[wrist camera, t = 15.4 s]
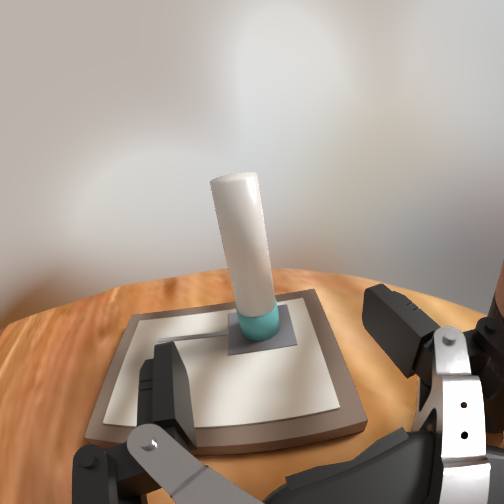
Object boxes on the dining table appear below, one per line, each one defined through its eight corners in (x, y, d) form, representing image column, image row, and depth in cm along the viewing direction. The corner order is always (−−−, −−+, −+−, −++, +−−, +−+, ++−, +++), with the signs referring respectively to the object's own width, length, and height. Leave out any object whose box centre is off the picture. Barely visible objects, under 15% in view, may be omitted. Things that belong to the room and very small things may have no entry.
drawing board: (94, 446, 15) (82, 435, 15) (136, 325, 30) (130, 312, 29) (364, 430, 15) (368, 418, 14) (314, 300, 30) (314, 286, 29)
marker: (241, 344, 23) (206, 187, 17) (240, 318, 26) (210, 177, 20) (282, 337, 23) (260, 178, 17) (277, 313, 26) (256, 169, 20)
